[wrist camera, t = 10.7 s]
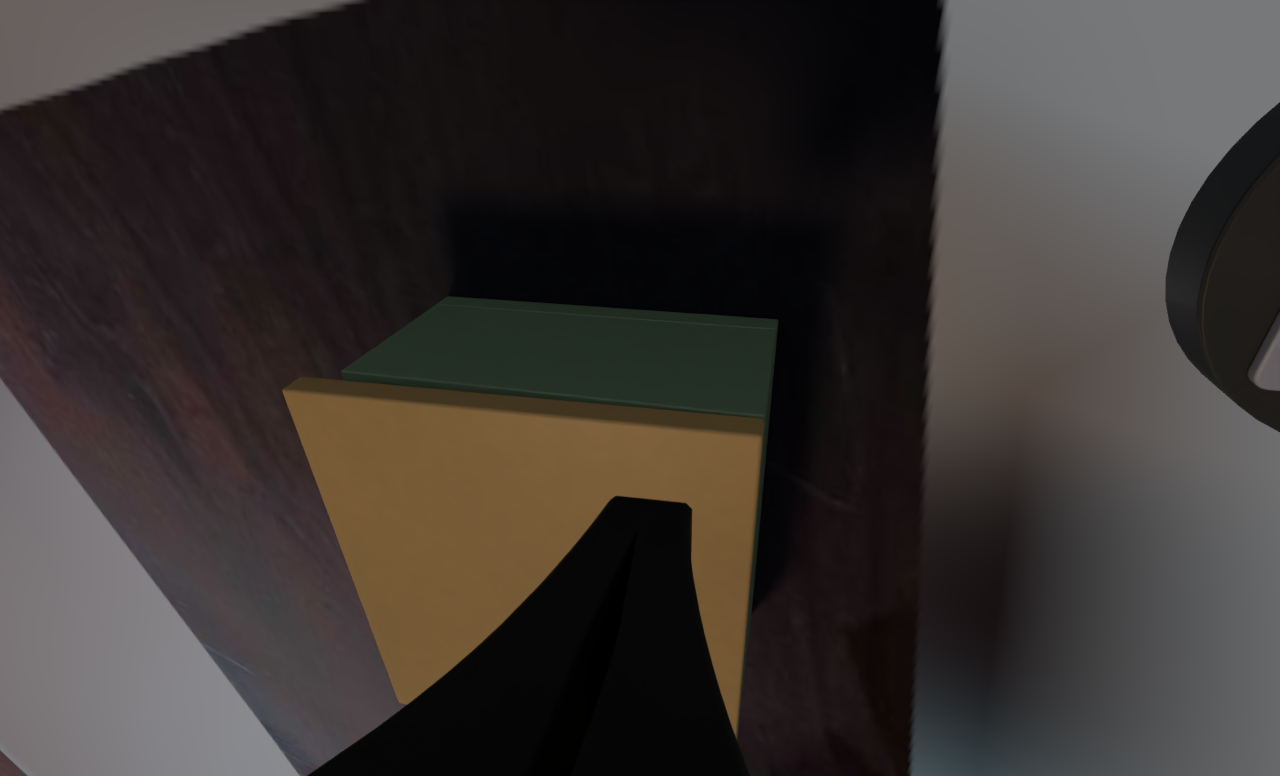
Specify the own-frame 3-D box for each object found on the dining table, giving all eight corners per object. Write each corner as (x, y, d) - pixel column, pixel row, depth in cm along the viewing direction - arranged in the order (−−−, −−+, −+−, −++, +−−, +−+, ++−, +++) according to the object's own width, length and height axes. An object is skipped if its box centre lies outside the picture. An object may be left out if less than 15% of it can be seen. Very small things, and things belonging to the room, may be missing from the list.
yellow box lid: (409, 684, 23) (397, 703, 23) (301, 374, 16) (279, 389, 16) (735, 750, 21) (733, 774, 20) (764, 417, 14) (762, 435, 13)
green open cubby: (502, 569, 28) (436, 678, 23) (447, 295, 22) (340, 370, 17) (751, 614, 26) (736, 749, 21) (778, 318, 19) (765, 415, 14)
